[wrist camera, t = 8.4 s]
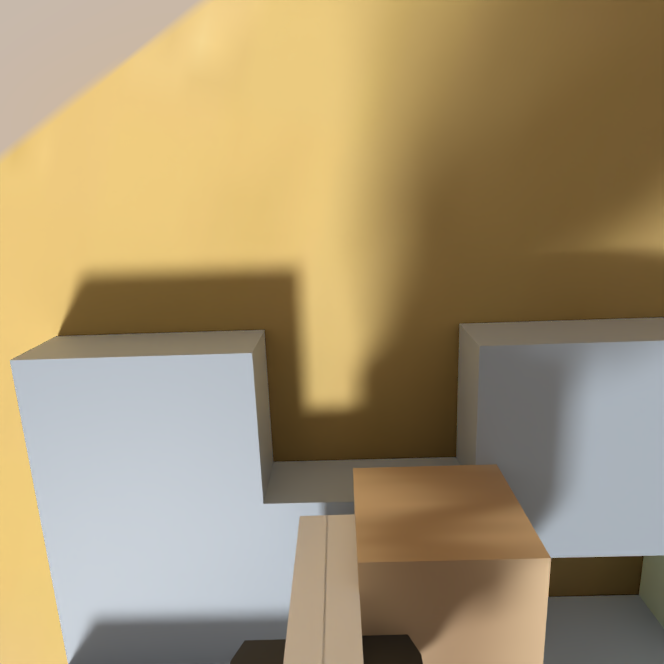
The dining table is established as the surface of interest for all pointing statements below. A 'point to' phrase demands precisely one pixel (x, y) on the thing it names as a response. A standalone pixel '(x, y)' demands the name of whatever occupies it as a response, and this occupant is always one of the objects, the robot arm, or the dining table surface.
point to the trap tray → (324, 481)
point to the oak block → (450, 564)
